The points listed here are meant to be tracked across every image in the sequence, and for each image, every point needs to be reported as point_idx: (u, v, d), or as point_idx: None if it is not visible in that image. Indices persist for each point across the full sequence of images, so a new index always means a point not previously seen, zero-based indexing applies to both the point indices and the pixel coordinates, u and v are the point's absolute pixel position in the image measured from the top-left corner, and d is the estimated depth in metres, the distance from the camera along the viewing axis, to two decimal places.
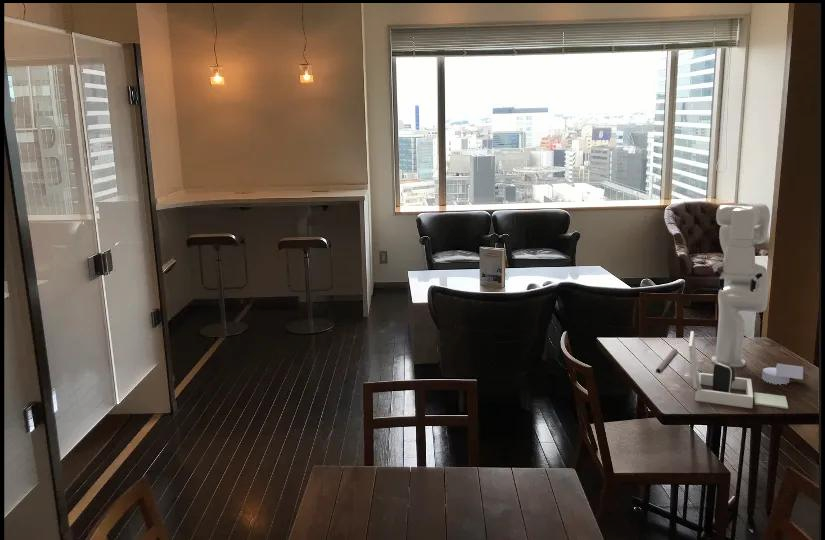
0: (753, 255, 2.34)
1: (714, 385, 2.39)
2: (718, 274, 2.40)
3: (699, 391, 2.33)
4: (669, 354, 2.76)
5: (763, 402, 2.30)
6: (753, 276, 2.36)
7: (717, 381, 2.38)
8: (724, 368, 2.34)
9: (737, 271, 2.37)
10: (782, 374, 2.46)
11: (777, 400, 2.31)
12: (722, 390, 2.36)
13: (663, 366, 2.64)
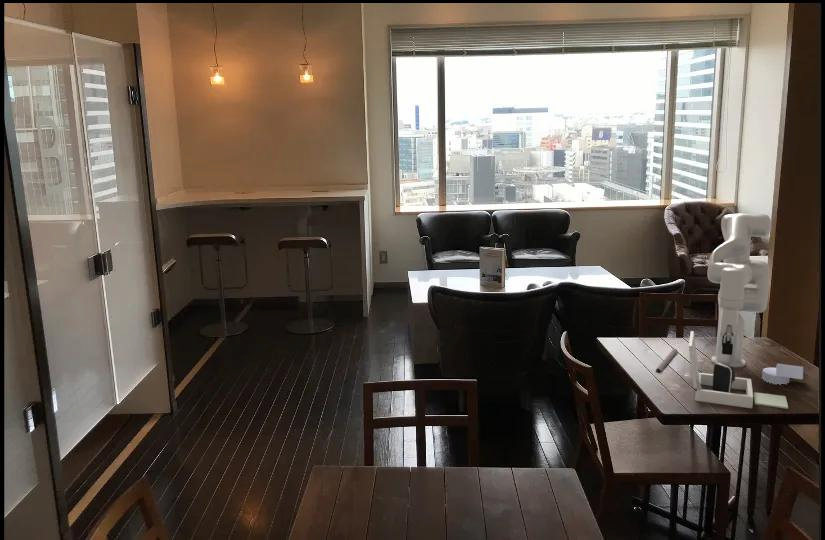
0: None
1: (714, 385, 2.39)
2: (730, 340, 2.27)
3: (699, 391, 2.33)
4: (669, 354, 2.76)
5: (763, 402, 2.30)
6: None
7: (717, 381, 2.38)
8: (724, 368, 2.34)
9: None
10: (782, 374, 2.46)
11: (777, 400, 2.31)
12: (722, 390, 2.36)
13: (663, 366, 2.64)
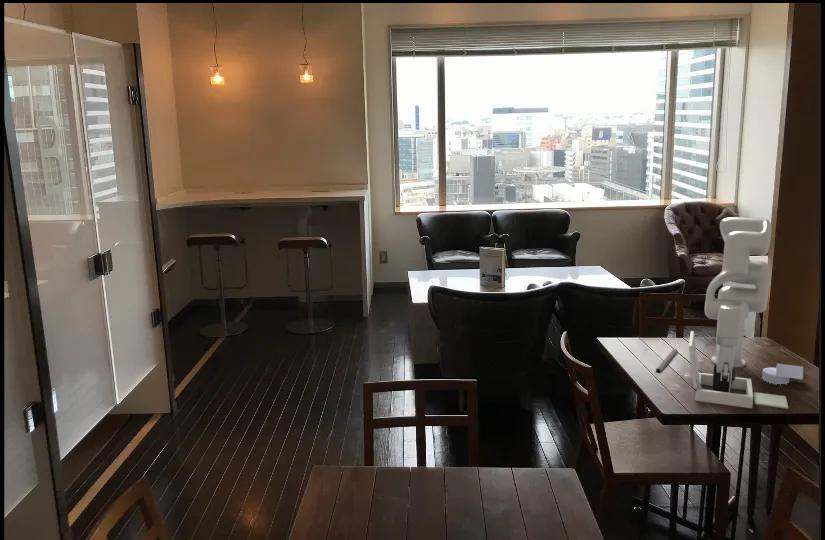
0: None
1: (714, 385, 2.39)
2: None
3: (699, 391, 2.33)
4: (669, 354, 2.76)
5: (763, 402, 2.30)
6: None
7: (717, 381, 2.38)
8: None
9: None
10: (782, 374, 2.46)
11: (777, 400, 2.31)
12: None
13: (663, 366, 2.64)
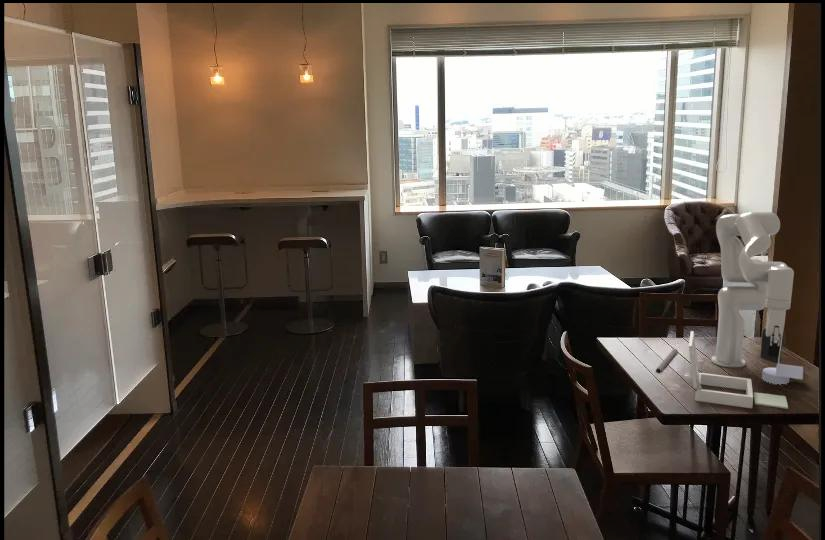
0: None
1: (762, 350, 2.31)
2: None
3: (699, 391, 2.33)
4: (669, 354, 2.76)
5: (763, 402, 2.30)
6: None
7: (766, 346, 2.29)
8: None
9: None
10: (782, 374, 2.46)
11: (777, 400, 2.31)
12: None
13: (663, 366, 2.64)
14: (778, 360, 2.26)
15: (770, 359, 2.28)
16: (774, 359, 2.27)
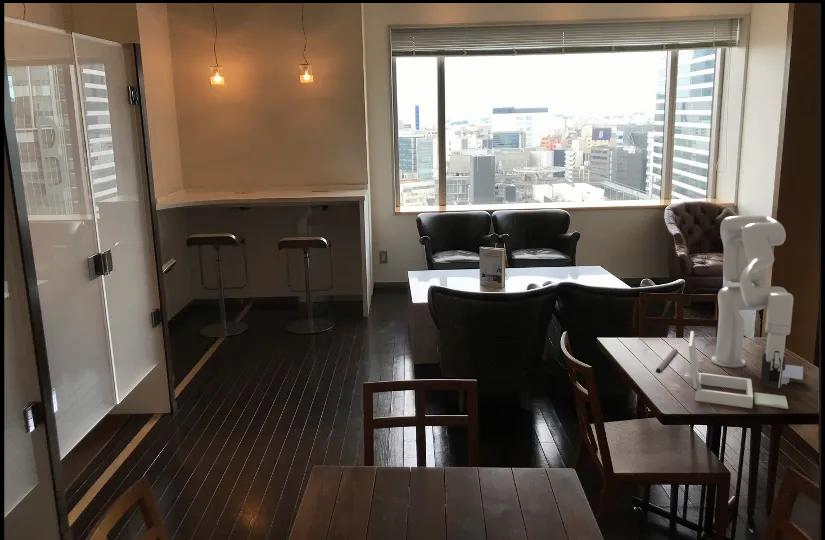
0: None
1: (763, 375, 2.32)
2: None
3: (699, 391, 2.33)
4: (669, 354, 2.76)
5: (763, 402, 2.30)
6: None
7: (766, 370, 2.31)
8: None
9: None
10: (782, 374, 2.46)
11: (777, 400, 2.31)
12: None
13: (663, 366, 2.64)
14: (778, 385, 2.28)
15: (770, 384, 2.30)
16: (774, 384, 2.28)
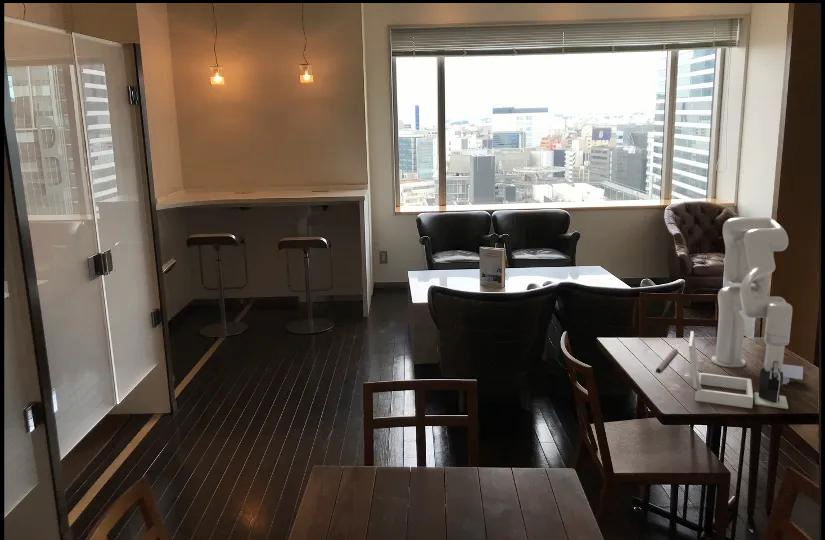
0: None
1: (761, 389, 2.33)
2: None
3: (699, 391, 2.33)
4: (669, 354, 2.76)
5: (763, 402, 2.30)
6: None
7: (764, 385, 2.32)
8: None
9: None
10: None
11: None
12: (770, 394, 2.30)
13: (663, 366, 2.64)
14: (777, 399, 2.29)
15: (769, 398, 2.31)
16: (773, 398, 2.29)
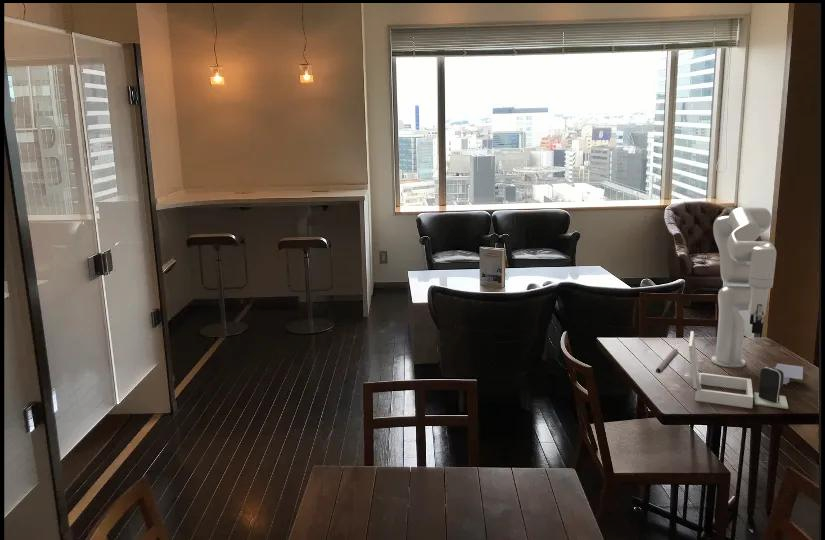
0: None
1: (761, 389, 2.33)
2: None
3: (699, 391, 2.33)
4: (669, 354, 2.76)
5: (763, 402, 2.30)
6: None
7: (764, 385, 2.32)
8: (772, 372, 2.28)
9: None
10: None
11: None
12: (770, 394, 2.30)
13: (663, 366, 2.64)
14: (777, 399, 2.29)
15: (769, 398, 2.31)
16: (773, 398, 2.29)
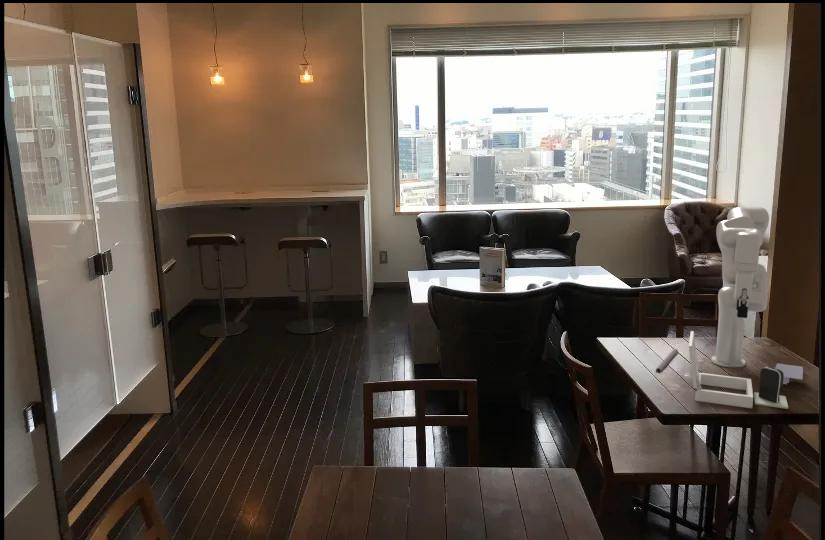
0: None
1: (761, 389, 2.33)
2: (746, 303, 2.31)
3: (699, 391, 2.33)
4: (669, 354, 2.76)
5: (763, 402, 2.30)
6: None
7: (764, 385, 2.32)
8: (772, 372, 2.28)
9: None
10: None
11: None
12: (770, 394, 2.30)
13: (663, 366, 2.64)
14: (777, 399, 2.29)
15: (769, 398, 2.31)
16: (773, 398, 2.29)
